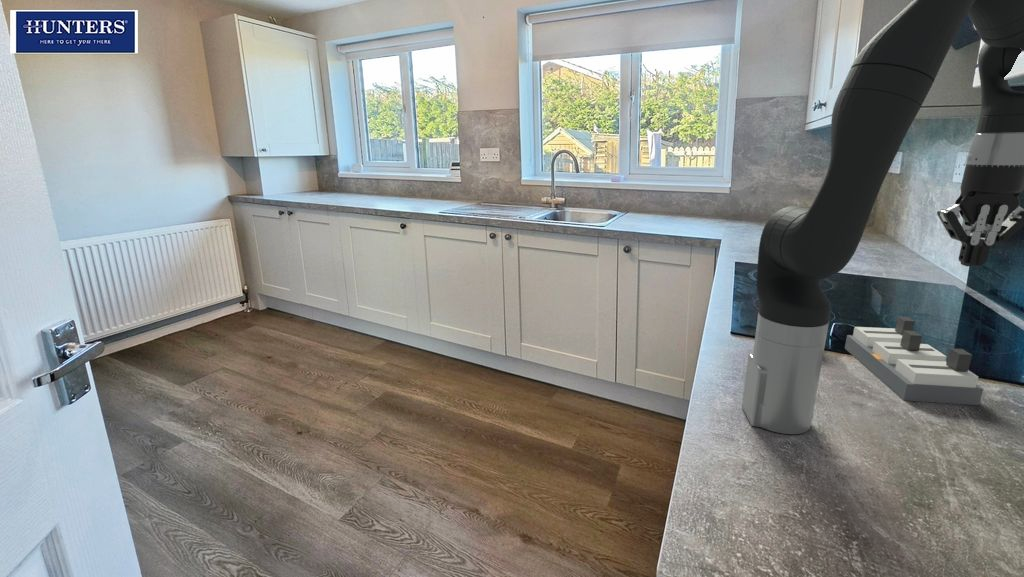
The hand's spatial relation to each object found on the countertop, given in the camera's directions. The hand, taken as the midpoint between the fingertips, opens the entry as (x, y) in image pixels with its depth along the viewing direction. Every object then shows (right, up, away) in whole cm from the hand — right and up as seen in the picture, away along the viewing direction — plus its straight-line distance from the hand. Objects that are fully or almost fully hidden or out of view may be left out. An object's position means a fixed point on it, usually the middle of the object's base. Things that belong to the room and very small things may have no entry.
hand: (971, 265), depth 85 cm
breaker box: (-6, -20, +7) cm, 22 cm away
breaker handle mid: (-6, -15, +6) cm, 17 cm away
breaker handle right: (-5, -17, -2) cm, 18 cm away
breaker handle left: (-2, -13, +13) cm, 18 cm away
